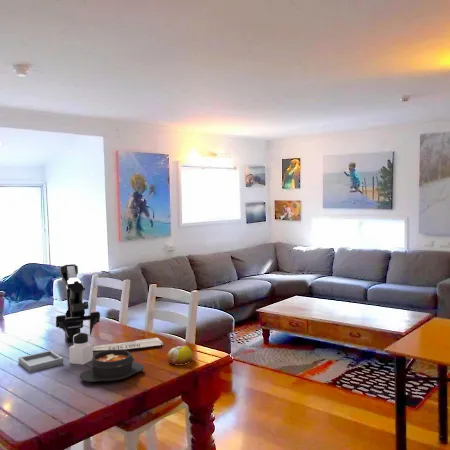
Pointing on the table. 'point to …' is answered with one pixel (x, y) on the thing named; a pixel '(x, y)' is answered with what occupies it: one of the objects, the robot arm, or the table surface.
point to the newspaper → (128, 345)
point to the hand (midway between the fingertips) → (80, 335)
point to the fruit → (179, 355)
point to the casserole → (111, 366)
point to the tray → (40, 361)
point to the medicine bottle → (81, 349)
